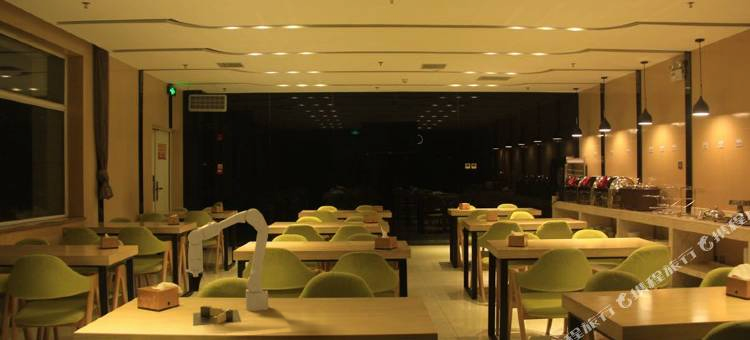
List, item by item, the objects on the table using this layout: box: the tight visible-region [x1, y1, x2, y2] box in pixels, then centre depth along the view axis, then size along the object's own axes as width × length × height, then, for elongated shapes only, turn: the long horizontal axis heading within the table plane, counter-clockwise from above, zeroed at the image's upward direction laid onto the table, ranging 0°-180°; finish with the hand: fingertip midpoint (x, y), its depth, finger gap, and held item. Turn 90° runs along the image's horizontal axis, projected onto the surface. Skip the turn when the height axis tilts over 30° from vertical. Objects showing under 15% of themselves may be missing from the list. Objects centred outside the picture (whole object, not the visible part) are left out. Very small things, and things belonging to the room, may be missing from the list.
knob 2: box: [217, 308, 234, 323], centre depth 228 cm, size 9×4×4 cm, turn 166°
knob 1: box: [199, 305, 223, 316], centre depth 237 cm, size 9×4×4 cm, turn 75°
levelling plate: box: [192, 309, 242, 327], centre depth 234 cm, size 18×22×2 cm
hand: (195, 291), depth 243 cm, fingers closed
